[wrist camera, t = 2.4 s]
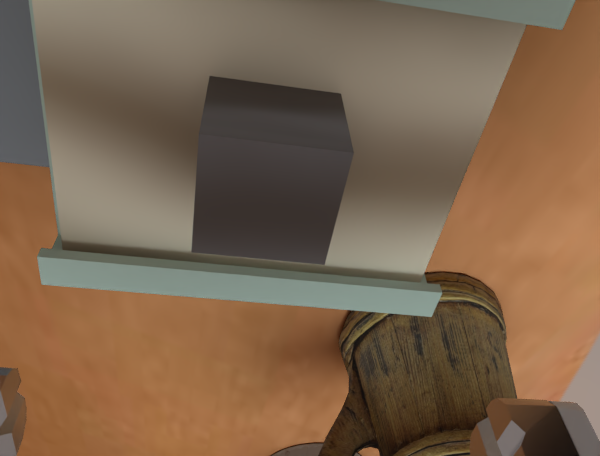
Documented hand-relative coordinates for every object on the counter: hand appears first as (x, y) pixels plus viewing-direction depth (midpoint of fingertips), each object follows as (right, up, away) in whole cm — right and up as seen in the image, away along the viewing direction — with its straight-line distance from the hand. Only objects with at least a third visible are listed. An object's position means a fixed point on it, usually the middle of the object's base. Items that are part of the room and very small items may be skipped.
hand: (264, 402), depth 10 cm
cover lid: (0, +6, +7) cm, 10 cm away
